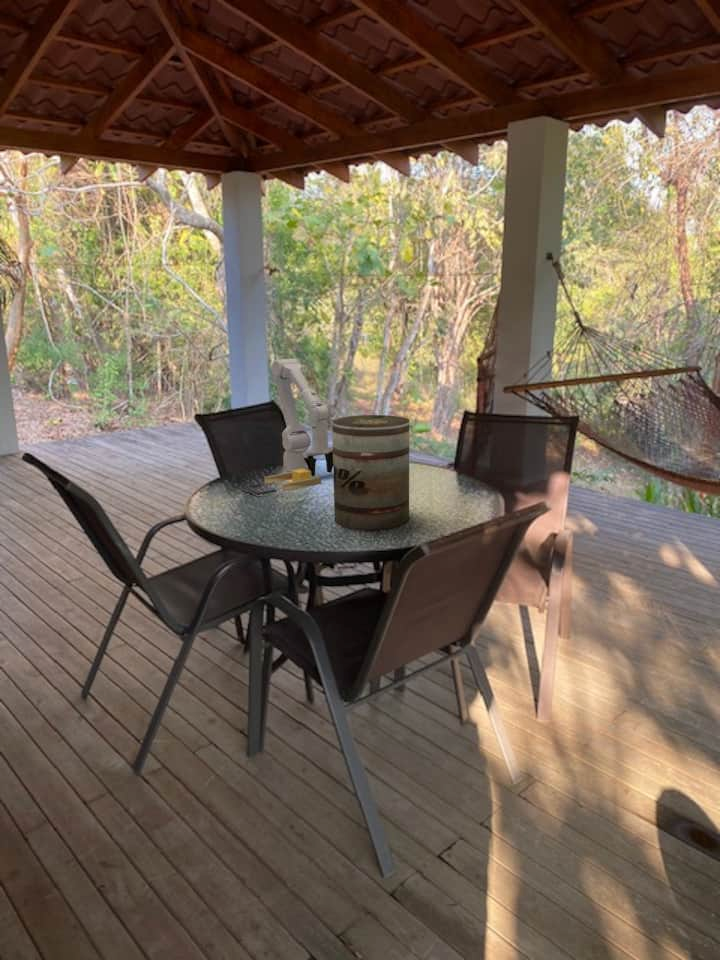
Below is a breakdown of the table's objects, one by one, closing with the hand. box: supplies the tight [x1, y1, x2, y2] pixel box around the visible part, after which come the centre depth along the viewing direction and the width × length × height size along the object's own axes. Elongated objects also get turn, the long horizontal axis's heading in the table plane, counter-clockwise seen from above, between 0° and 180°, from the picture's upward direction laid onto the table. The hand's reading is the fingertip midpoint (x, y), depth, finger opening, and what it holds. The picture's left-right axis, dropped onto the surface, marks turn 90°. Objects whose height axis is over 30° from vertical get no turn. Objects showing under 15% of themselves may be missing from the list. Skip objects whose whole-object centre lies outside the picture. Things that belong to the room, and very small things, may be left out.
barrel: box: [331, 414, 410, 532], centre depth 197 cm, size 22×22×30 cm
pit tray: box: [241, 483, 276, 495], centre depth 233 cm, size 11×7×1 cm, turn 38°
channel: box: [263, 472, 322, 492], centre depth 241 cm, size 14×15×3 cm
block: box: [292, 468, 312, 482], centre depth 243 cm, size 5×5×4 cm
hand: (321, 473), depth 248 cm, fingers open, 7 cm apart
